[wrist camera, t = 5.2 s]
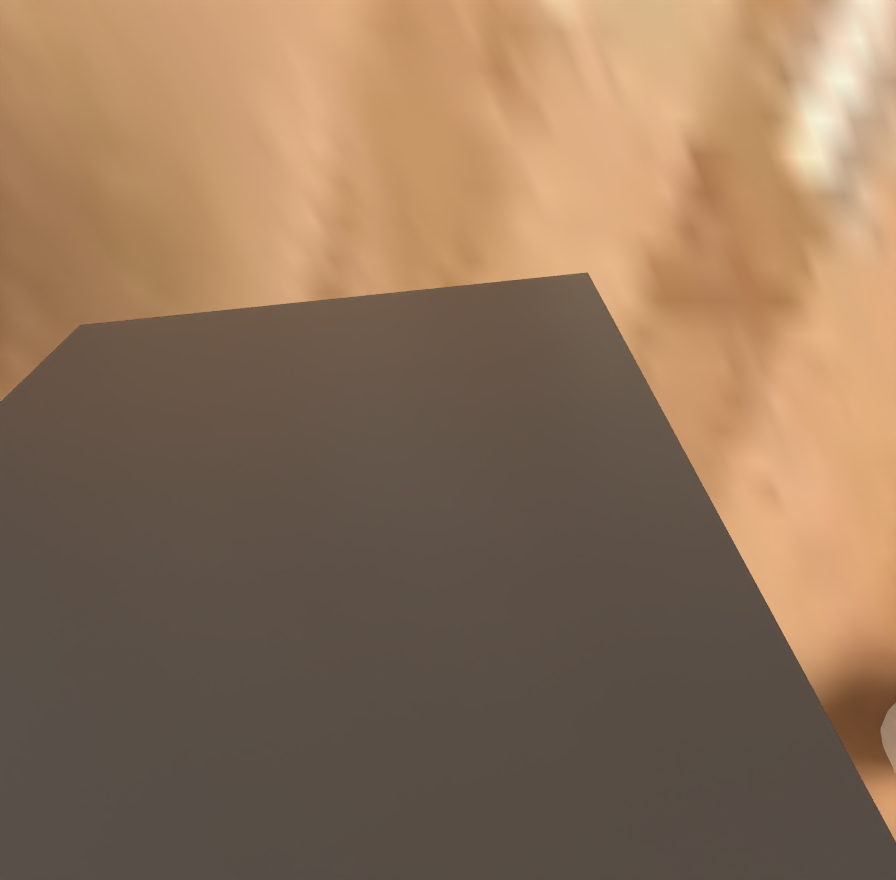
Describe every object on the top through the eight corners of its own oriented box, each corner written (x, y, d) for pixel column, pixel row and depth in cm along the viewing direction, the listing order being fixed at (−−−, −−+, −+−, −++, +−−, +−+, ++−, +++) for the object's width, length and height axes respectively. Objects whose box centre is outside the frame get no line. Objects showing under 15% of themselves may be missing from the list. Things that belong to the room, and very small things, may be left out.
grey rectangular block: (80, 325, 11) (-764, 1135, 3) (587, 272, 11) (989, 1016, 3) (254, 833, 16) (93, 1602, 8) (597, 806, 16) (750, 1571, 8)
